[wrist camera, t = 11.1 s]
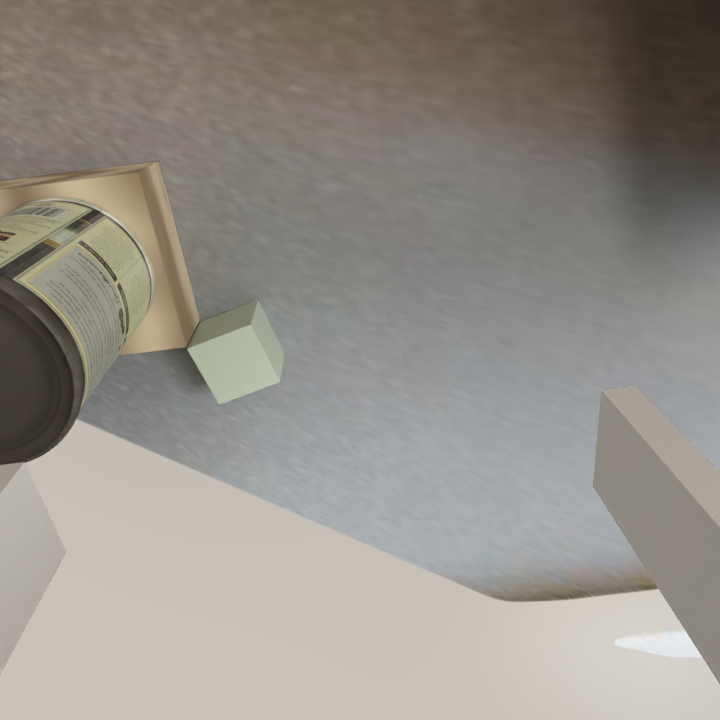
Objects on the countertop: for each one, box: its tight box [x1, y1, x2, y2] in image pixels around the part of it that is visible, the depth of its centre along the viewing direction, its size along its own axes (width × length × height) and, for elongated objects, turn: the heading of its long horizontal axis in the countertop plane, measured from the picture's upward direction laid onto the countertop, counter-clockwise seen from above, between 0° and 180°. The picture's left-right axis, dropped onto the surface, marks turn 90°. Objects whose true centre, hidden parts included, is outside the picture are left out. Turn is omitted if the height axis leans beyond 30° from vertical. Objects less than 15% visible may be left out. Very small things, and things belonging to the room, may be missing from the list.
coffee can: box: [0, 197, 155, 465], centre depth 32 cm, size 10×10×14 cm
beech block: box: [0, 161, 200, 356], centre depth 40 cm, size 12×12×5 cm
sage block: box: [187, 300, 284, 404], centre depth 44 cm, size 5×5×5 cm
